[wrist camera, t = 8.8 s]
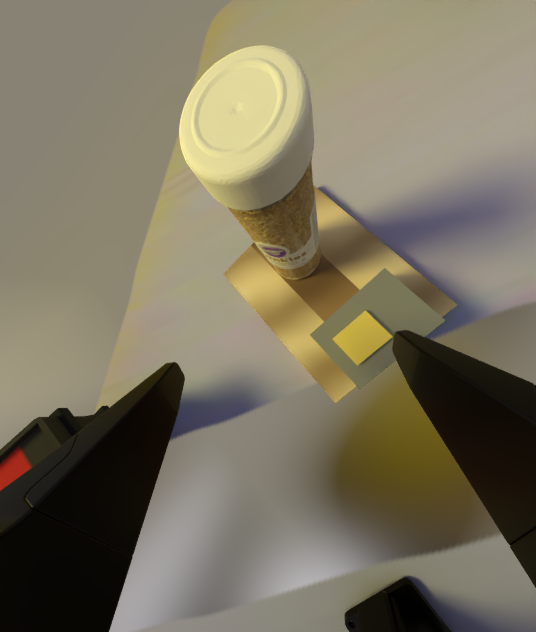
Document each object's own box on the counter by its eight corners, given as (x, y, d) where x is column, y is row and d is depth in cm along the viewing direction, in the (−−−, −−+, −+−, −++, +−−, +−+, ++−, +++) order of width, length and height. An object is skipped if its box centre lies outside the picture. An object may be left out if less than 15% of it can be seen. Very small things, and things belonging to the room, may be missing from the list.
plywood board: (450, 306, 17) (457, 304, 16) (335, 399, 18) (335, 403, 17) (311, 190, 20) (310, 182, 19) (228, 276, 22) (223, 274, 21)
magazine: (76, 495, 24) (-185, 606, 10) (165, 398, 28) (66, 385, 14) (94, 522, 23) (-168, 685, 9) (184, 417, 27) (96, 422, 13)
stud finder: (424, 322, 16) (448, 320, 13) (354, 379, 17) (360, 390, 14) (375, 278, 17) (385, 266, 14) (312, 334, 18) (309, 334, 15)
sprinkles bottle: (273, 282, 20) (170, 190, 7) (273, 236, 20) (175, 65, 7) (322, 279, 18) (311, 158, 6) (321, 229, 19) (308, 9, 6)
